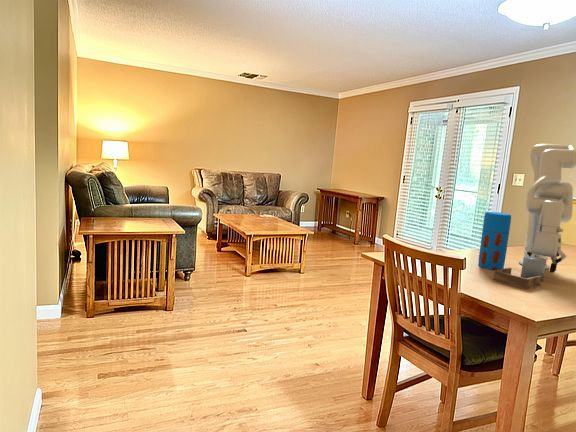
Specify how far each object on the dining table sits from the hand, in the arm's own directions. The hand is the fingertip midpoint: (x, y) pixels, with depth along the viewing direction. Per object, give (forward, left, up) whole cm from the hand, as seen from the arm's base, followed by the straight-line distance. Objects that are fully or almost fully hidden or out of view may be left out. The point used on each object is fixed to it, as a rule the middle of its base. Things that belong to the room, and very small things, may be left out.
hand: (542, 269), depth 177 cm
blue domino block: (+6, -19, -3) cm, 20 cm away
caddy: (+21, 0, -3) cm, 21 cm away
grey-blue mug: (+6, 0, -3) cm, 7 cm away
